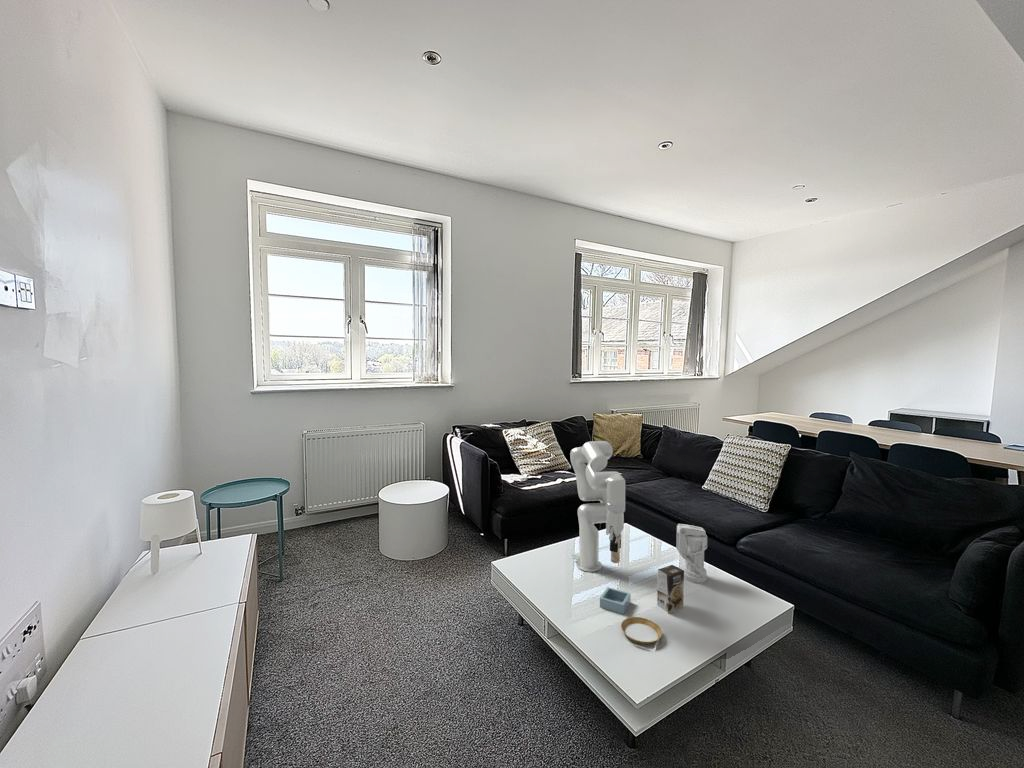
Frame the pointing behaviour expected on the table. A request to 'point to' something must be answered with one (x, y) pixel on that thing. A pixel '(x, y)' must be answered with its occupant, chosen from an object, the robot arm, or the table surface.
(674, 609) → the coffee box
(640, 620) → the plant saucer
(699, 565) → the white sculpture
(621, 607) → the holder
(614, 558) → the dowel
